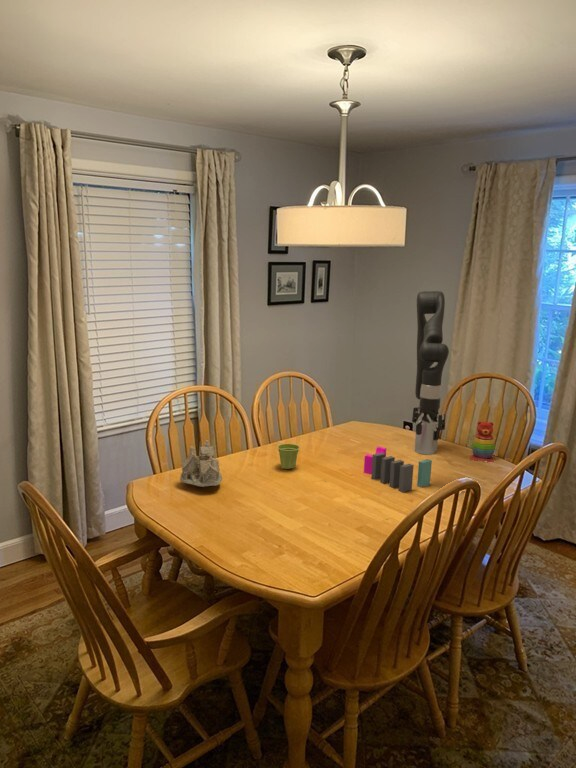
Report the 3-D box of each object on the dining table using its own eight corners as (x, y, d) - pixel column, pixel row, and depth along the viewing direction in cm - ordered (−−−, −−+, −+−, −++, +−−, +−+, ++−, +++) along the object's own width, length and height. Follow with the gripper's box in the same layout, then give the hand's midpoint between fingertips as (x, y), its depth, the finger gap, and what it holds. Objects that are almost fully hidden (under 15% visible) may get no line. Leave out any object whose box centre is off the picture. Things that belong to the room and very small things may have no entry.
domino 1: (371, 478, 224) (372, 454, 222) (380, 476, 227) (382, 452, 225) (374, 480, 223) (376, 456, 221) (384, 477, 225) (385, 454, 223)
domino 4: (398, 490, 212) (400, 465, 210) (407, 488, 215) (409, 463, 213) (402, 492, 211) (404, 467, 209) (411, 490, 214) (413, 465, 212)
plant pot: (273, 468, 233) (273, 448, 231) (282, 461, 241) (282, 442, 240) (294, 472, 229) (294, 451, 228) (302, 464, 238) (303, 445, 236)
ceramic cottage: (181, 474, 223) (180, 438, 220) (222, 474, 225) (222, 438, 222) (177, 489, 208) (176, 451, 205) (221, 489, 210) (221, 451, 206)
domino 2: (380, 482, 220) (381, 458, 218) (389, 479, 223) (391, 456, 221) (383, 483, 219) (385, 459, 217) (393, 481, 222) (394, 457, 220)
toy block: (378, 476, 227) (379, 458, 226) (363, 473, 231) (364, 455, 229) (390, 465, 240) (392, 449, 239) (377, 463, 243) (378, 446, 242)
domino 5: (417, 485, 218) (418, 461, 216) (425, 483, 221) (427, 459, 219) (420, 487, 216) (422, 462, 214) (429, 485, 219) (431, 460, 217)
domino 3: (389, 486, 216) (390, 461, 214) (398, 484, 219) (400, 459, 217) (392, 488, 215) (394, 463, 213) (402, 485, 218) (403, 461, 216)
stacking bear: (468, 462, 246) (472, 423, 243) (469, 455, 256) (473, 418, 252) (494, 466, 243) (498, 426, 239) (495, 459, 252) (499, 420, 248)
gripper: (452, 398, 208) (448, 440, 211) (423, 391, 219) (419, 431, 222) (438, 400, 204) (434, 443, 207) (409, 393, 215) (406, 433, 218)
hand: (427, 437), depth 215 cm, fingers open, 8 cm apart
